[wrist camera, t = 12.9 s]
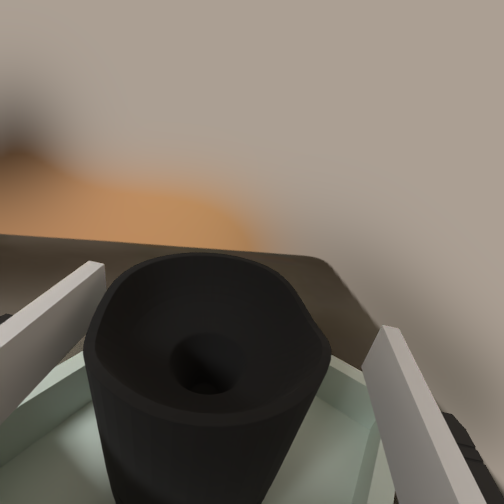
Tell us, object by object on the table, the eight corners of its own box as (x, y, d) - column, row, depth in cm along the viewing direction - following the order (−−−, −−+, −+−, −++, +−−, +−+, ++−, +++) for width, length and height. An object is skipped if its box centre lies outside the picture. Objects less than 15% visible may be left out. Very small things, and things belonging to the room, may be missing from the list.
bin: (-56, 498, 13) (-88, 450, 11) (197, 317, 26) (201, 282, 25) (250, 1092, 6) (296, 1221, 4) (383, 434, 19) (407, 397, 18)
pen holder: (56, 484, 13) (11, 325, 9) (181, 356, 21) (191, 236, 17) (225, 636, 10) (287, 511, 6) (299, 421, 18) (349, 297, 14)
